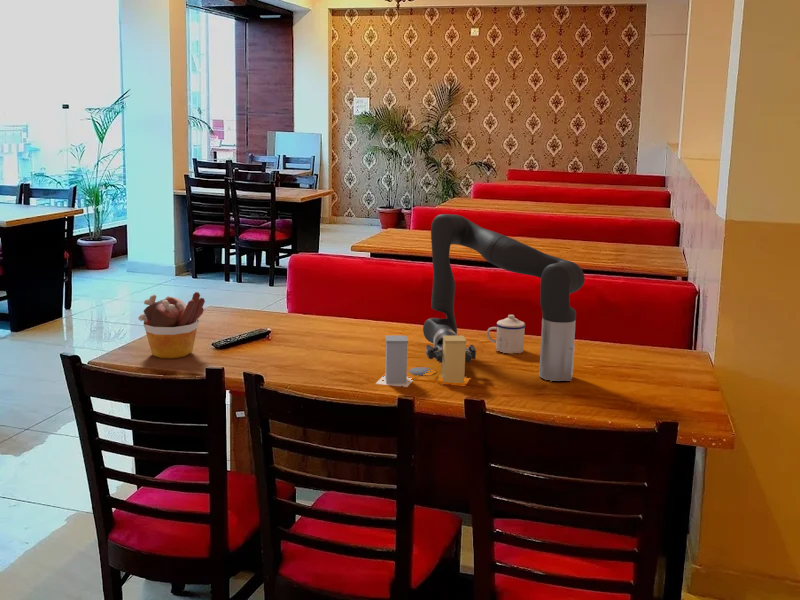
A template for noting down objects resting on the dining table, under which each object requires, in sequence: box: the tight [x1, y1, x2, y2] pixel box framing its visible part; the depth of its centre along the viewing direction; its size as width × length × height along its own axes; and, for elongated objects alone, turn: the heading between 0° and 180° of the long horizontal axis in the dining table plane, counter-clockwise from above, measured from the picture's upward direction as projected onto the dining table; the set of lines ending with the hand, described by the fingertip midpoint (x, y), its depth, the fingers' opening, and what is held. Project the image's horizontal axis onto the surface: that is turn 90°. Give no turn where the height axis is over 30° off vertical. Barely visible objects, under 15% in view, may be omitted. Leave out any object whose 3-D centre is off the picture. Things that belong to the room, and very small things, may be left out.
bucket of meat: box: [137, 291, 206, 360], centre depth 249 cm, size 20×16×20 cm
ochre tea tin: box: [441, 335, 467, 383], centre depth 229 cm, size 6×6×12 cm
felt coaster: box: [408, 366, 432, 377], centre depth 238 cm, size 8×8×1 cm
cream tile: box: [375, 375, 414, 388], centre depth 229 cm, size 9×9×1 cm
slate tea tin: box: [384, 335, 409, 384], centre depth 228 cm, size 6×6×12 cm
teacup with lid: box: [486, 314, 526, 354], centre depth 262 cm, size 12×9×12 cm
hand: (454, 359), depth 227 cm, fingers open, 7 cm apart
